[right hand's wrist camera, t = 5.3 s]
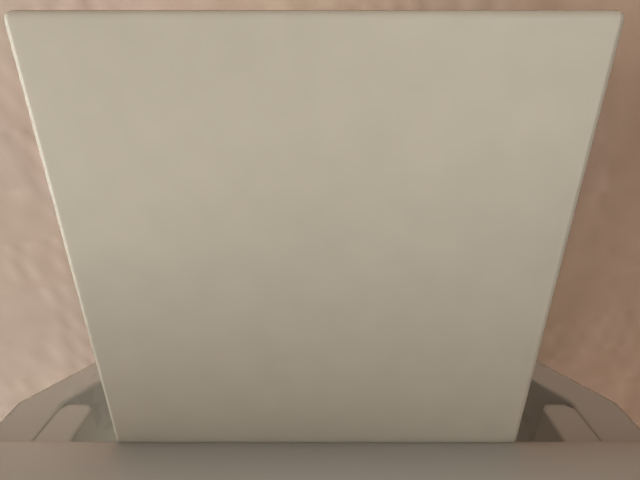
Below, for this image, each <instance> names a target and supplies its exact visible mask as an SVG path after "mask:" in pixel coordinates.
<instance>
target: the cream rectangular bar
mask: <svg viewBox="0 0 640 480" xmlns="http://www.w3.org/2000/svg"><path fill="white" fill-rule="evenodd" d="M4 22H5V25H6V29H7V33H8V37H9V40H10V44H11V48H12V51H13V55H14V59H15V63H16V66H17V70H18V74H19V78H20V81H21V85H22V89H23V92H24V96H25V100H26V104H27V107H28V111H29V115H30V119H31V122H32V126H33V130H34V133H35V137H36V141H37V145H38V148H39V152H40V156H41V160H42V163H43V167H44V171H45V174H46V178H47V182H48V186H49V189H50V193H51V197H52V201H53V204H54V208H55V212H56V215H57V219H58V223H59V227H60V230H61V234H62V238H63V242H64V245H65V249H66V253H67V256H68V260H69V264H70V268H71V271H72V275H73V279H74V282H75V286H76V290H77V294H78V297H79V301H80V305H81V309H82V312H83V316H84V320H85V323H86V327H87V331H88V335H89V338H90V342H91V346H92V350H93V353H94V357H95V361H96V364H97V368H98V372H99V376H100V379H101V383H102V387H103V391H104V394H105V398H106V402H107V405H108V409H109V413H110V417H111V420H112V424H113V428H114V432H115V435H116V439H117V442H120V443H513V442H515V441H516V438H517V434H518V430H519V426H520V422H521V418H522V414H523V410H524V406H525V403H526V399H527V395H528V391H529V387H530V383H531V379H532V375H533V372H534V368H535V364H536V360H537V356H538V352H539V348H540V344H541V341H542V337H543V333H544V329H545V325H546V321H547V317H548V313H549V309H550V306H551V302H552V298H553V294H554V290H555V286H556V282H557V278H558V275H559V271H560V267H561V263H562V259H563V255H564V251H565V247H566V243H567V240H568V236H569V232H570V228H571V224H572V220H573V216H574V212H575V209H576V205H577V201H578V197H579V193H580V189H581V185H582V181H583V177H584V174H585V170H586V166H587V162H588V158H589V154H590V150H591V146H592V143H593V139H594V135H595V131H596V127H597V123H598V119H599V115H600V111H601V108H602V104H603V100H604V96H605V92H606V88H607V84H608V80H609V77H610V73H611V69H612V65H613V61H614V57H615V53H616V49H617V45H618V42H619V38H620V34H621V30H622V26H623V22H624V13H622V12H619V11H617V10H12V11H10V12H7V13H5V14H4Z"/></svg>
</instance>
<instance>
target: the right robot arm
mask: <svg viewBox="0 0 640 480" xmlns="http://www.w3.org/2000/svg"><path fill="white" fill-rule="evenodd" d="M0 480H640V428H639V427H638V426H637V425H636V424H635V423H634V422H633V421H632V420H631V419H630V418H629V417H628V416H627V415H626V413H625V412H624V411H623V410H622V409H621V408H620V407H619V406H618V405H617V404H616V403H614V402H612V401H611V400H609V399H607V398H605V397H603V396H601V395H599V394H597V393H595V392H594V391H592V390H590V389H588V388H586V387H584V386H582V385H580V384H579V383H577V382H575V381H573V380H571V379H569V378H567V377H565V376H563V375H562V374H560V373H558V372H556V371H554V370H552V369H550V368H548V367H547V366H545V365H543V364H541V363H539V362H537V361H536V364H535V368H534V372H533V375H532V379H531V383H530V387H529V391H528V395H527V399H526V403H525V406H524V410H523V414H522V418H521V422H520V426H519V430H518V434H517V438H516V441H515V442H513V443H120V442H117V439H116V435H115V432H114V428H113V424H112V420H111V417H110V413H109V409H108V405H107V402H106V398H105V394H104V391H103V387H102V383H101V379H100V376H99V372H98V368H97V364H96V363H94V364H92V365H91V366H89V367H87V368H85V369H83V370H81V371H79V372H77V373H75V374H73V375H72V376H70V377H68V378H66V379H64V380H62V381H60V382H58V383H56V384H54V385H52V386H51V387H49V388H47V389H45V390H43V391H41V392H39V393H37V394H35V395H33V396H31V397H30V398H28V399H26V400H24V401H22V402H20V403H19V404H18V405H17V406H16V407H15V408H14V409H13V410H12V411H11V412H10V413H9V414H8V415H7V416H6V417H5V418H4V419H3V420H2V421H1V422H0Z"/></svg>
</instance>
